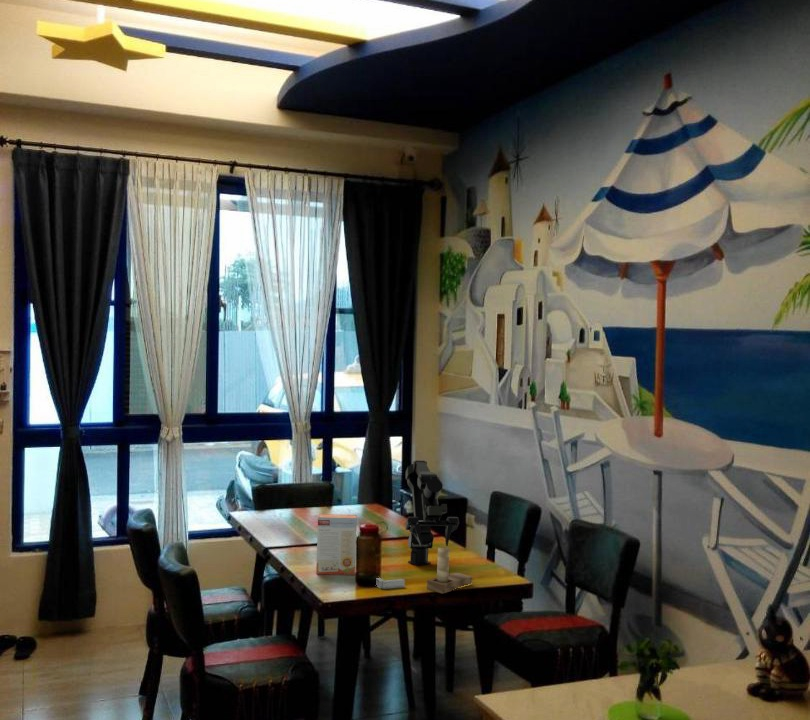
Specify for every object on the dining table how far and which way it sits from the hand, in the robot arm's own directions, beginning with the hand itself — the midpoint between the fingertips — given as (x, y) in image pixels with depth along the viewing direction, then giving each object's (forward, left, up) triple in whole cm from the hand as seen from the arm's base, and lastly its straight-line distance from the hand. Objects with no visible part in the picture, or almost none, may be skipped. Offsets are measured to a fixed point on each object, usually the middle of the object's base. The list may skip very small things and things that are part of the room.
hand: (434, 545), depth 302 cm
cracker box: (+18, -31, -14) cm, 38 cm away
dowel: (+3, +7, -13) cm, 15 cm away
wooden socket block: (-1, +7, -13) cm, 15 cm away
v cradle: (+16, -8, -13) cm, 22 cm away
